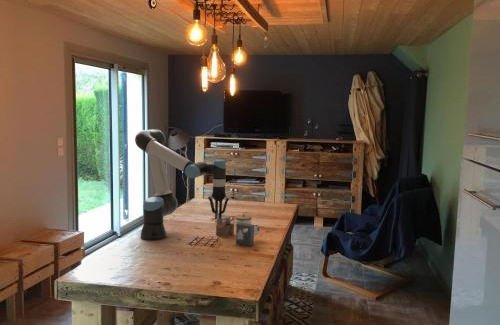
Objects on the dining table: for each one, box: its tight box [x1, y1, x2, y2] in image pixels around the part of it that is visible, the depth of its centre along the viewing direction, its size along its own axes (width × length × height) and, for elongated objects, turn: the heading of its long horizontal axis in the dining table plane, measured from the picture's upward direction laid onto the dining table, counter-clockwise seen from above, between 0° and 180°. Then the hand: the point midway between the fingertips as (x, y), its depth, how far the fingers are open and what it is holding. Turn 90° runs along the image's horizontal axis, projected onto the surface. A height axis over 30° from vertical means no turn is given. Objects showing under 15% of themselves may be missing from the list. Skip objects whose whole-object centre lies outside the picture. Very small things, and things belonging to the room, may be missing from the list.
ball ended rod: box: [216, 216, 231, 228], centre depth 269 cm, size 16×6×5 cm, turn 167°
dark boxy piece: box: [235, 223, 255, 248], centre depth 256 cm, size 4×10×12 cm, turn 62°
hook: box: [237, 224, 260, 240], centre depth 259 cm, size 20×4×6 cm, turn 152°
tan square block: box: [215, 222, 235, 238], centre depth 275 cm, size 8×8×7 cm
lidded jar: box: [234, 213, 253, 230], centre depth 292 cm, size 11×11×9 cm
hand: (218, 224), depth 267 cm, fingers closed
